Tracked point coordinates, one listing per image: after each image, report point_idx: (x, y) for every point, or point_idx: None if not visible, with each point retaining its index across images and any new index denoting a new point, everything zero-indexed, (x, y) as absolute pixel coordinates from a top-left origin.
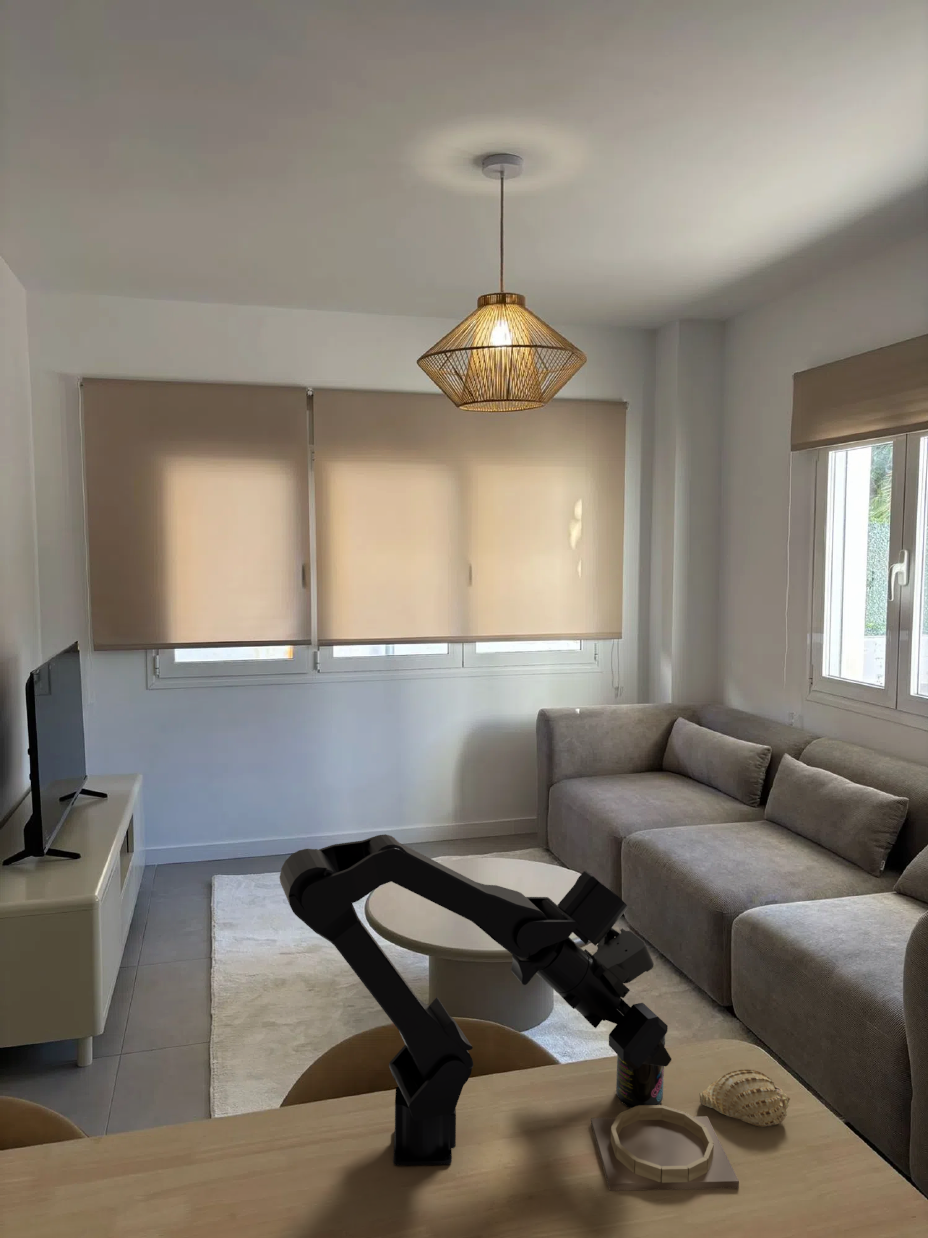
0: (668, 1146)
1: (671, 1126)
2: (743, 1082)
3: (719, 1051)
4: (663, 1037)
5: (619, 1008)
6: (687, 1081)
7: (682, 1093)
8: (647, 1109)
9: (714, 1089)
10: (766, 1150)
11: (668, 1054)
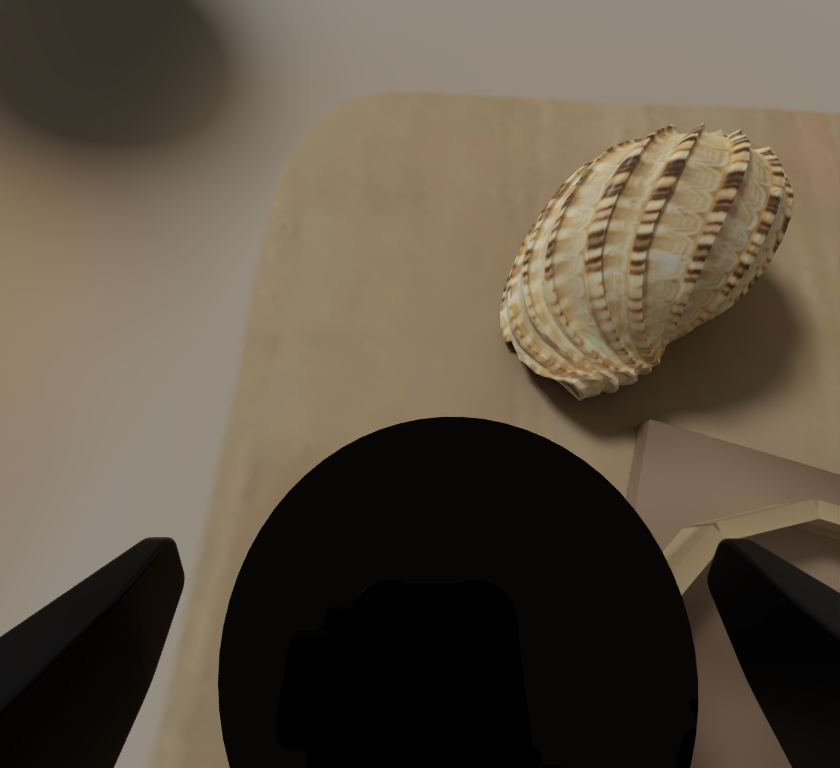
0: None
1: (685, 594)
2: (724, 225)
3: (290, 168)
4: (624, 504)
5: (44, 700)
6: (399, 353)
7: (457, 409)
8: None
9: (617, 332)
10: (799, 329)
11: (831, 589)
